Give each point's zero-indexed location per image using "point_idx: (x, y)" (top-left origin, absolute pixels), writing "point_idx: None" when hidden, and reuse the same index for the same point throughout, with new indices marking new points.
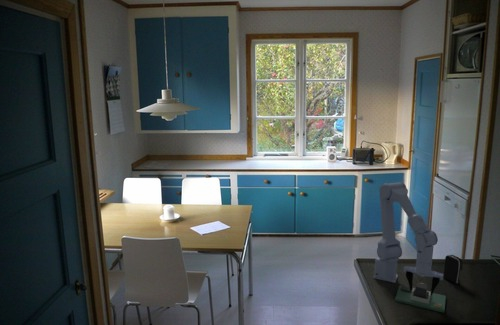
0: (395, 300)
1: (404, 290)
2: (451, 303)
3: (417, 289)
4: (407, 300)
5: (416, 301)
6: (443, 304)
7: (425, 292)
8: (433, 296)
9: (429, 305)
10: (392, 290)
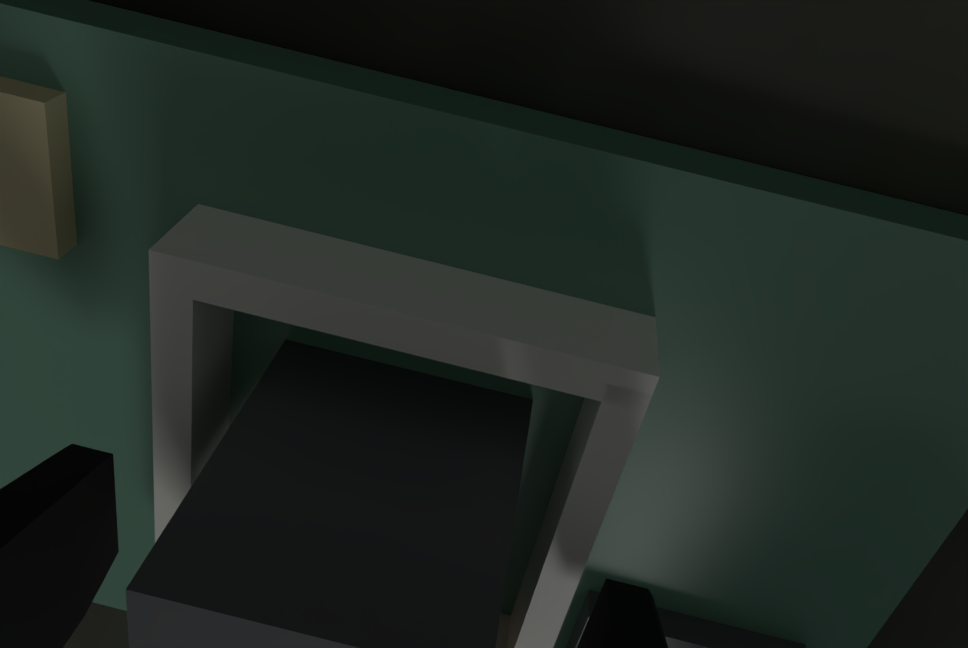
0: None
1: (724, 636)
2: None
3: (442, 590)
4: (761, 252)
5: (511, 253)
6: None
7: (211, 496)
8: (134, 516)
9: (181, 120)
10: (955, 644)
